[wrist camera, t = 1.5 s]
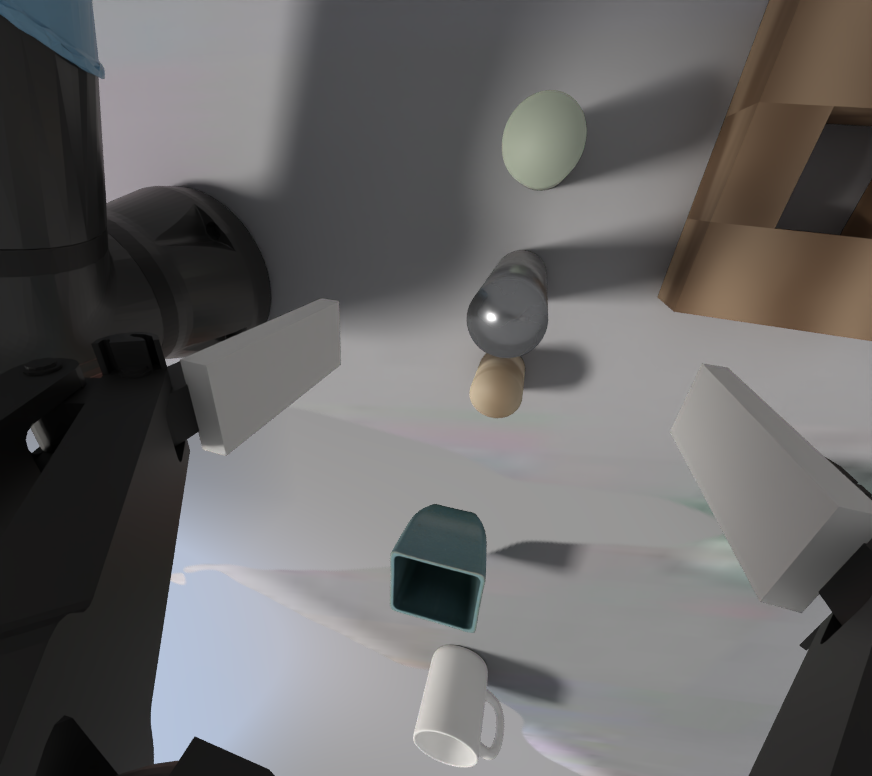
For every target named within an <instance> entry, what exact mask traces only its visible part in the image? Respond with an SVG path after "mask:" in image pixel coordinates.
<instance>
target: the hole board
mask: <svg viewBox="0 0 872 776" xmlns="http://www.w3.org/2000/svg"><path fill="white" fill-rule="evenodd" d="M825 124H842V125H859V126H872V0H769V3H768V5H767V8H766V11H765V13H764V16H763V19H762V21H761V24H760V27H759V29H758V32H757V35H756V37H755V40H754V43H753V45H752V48H751V50H750V53H749V56H748V58H747V61H746V64H745V66H744V69H743V72H742V74H741V77H740V80H739V82H738V85H737V88H736V90H735V93H734V96H733V98H732V101H731V103H730V106H729V109H728V111H727V114H726V117H725V119H724V122H723V125H722V127H721V130H720V133H719V135H718V138H717V141H716V143H715V146H714V149H713V151H712V154H711V157H710V159H709V162H708V164H707V167H706V170H705V172H704V175H703V178H702V180H701V183H700V186H699V188H698V191H697V194H696V196H695V199H694V202H693V204H692V207H691V210H690V212H689V215H688V217H687V220H686V223H685V225H684V228H683V231H682V233H681V236H680V239H679V241H678V244H677V247H676V249H675V252H674V255H673V257H672V260H671V263H670V265H669V268H668V270H667V273H666V276H665V278H664V281H663V284H662V286H661V289H660V292H659V294H658V298H659V299H660V300H661V301H662V302H664V303H665V304H666V305H667V306H668V307H669V308H670V309H672V310H673V311H674V312H681V313H687V314H694V315H701V316H707V317H714V318H721V319H727V320H734V321H741V322H748V323H754V324H761V325H768V326H774V327H781V328H788V329H794V330H801V331H808V332H814V333H821V334H828V335H835V336H841V337H848V338H855V339H861V340H868V341H872V180H871V181H870V183H869V185H868V187H867V188H866V190H865V192H864V194H863V195H862V197H861V199H860V201H859V203H858V204H857V206H856V208H855V210H854V211H853V213H852V215H851V217H850V218H849V220H848V222H847V224H846V225H845V227H844V229H843V231H842V233H841V234H840V235H835V234H826V233H816V232H807V231H798V230H788V229H779V228H775V227H776V225H777V223H778V221H779V219H780V217H781V215H782V213H783V210H784V208H785V206H786V204H787V202H788V200H789V198H790V196H791V194H792V192H793V190H794V188H795V186H796V184H797V182H798V180H799V177H800V175H801V173H802V171H803V169H804V167H805V165H806V163H807V161H808V159H809V157H810V155H811V153H812V151H813V149H814V147H815V145H816V142H817V140H818V138H819V136H820V134H821V132H822V130H823V128H824V126H825Z"/></svg>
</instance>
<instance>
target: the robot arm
mask: <svg viewBox="0 0 872 776" xmlns="http://www.w3.org/2000/svg"><path fill="white" fill-rule="evenodd" d="M98 77H99V78H101V79H105V71H104V68H103V66H102V64H101V63H100V62H99V59H98V50H97V42H96V33H95V24H94V15H93V6H92V0H0V776H275V775H273V773H272V772H271V771H270V770H269V769H267V768H264V767H262V766H260V765H258V764H256V763H253V762H251V761H249V760H246V759H244V758H242V757H240V756H237V755H235V754H233V753H231V752H228V751H226V750H224V749H222V748H220V747H217V746H215V745H213V744H210V743H208V742H206V741H204V740H202V739H199V738H197V737H194V739H193V740H192V741H191V743H190V745H189V746H188V748H187V749H186V751H185V752H184V754H183V755H182V757H181V758H180V760H179V761H172V762H165V763H158V764H154V747H153V738H152V730H151V703H152V696H153V690H154V683H155V677H156V670H157V664H158V657H159V651H160V644H161V638H162V631H163V624H164V617H165V611H166V605H167V598H168V592H169V585H170V578H171V572H172V565H173V559H174V552H175V545H176V539H177V532H178V526H179V519H180V513H181V506H182V499H183V493H184V486H185V480H186V473H187V467H188V460H189V454H190V449H189V445H188V441H187V439H188V438H190V437H191V436H193V435H194V434H195V433H197V432H199V436H200V440H201V444H202V448H203V450H206V451H210V452H214V453H217V454H221V455H225V456H227V455H228V454H229V453H230V452H232V451H233V450H234V449H235V448H237V447H238V446H239V445H240V444H242V443H243V442H244V441H245V440H247V439H248V438H249V437H250V436H252V435H253V434H254V433H256V432H257V431H258V430H259V429H261V428H262V427H263V426H264V425H266V424H267V423H268V422H269V421H271V420H272V419H273V418H274V417H276V416H277V415H278V414H279V413H280V412H282V411H283V410H284V409H286V408H287V407H288V406H289V405H291V404H292V403H293V402H294V401H296V400H297V399H298V398H299V397H301V396H302V395H303V394H304V393H306V392H307V391H308V390H309V389H311V388H312V387H313V386H315V385H316V384H317V383H318V382H320V381H321V380H322V379H323V378H325V377H326V376H327V375H328V374H330V373H331V372H332V371H333V370H335V369H336V368H337V367H338V366H340V365H341V349H340V318H339V301H335V300H329V299H323V298H321V299H318V300H316V301H314V302H311V303H309V304H307V305H305V306H302V307H300V308H298V309H295V310H293V311H291V312H288V313H286V314H284V315H282V316H279V317H277V318H275V319H272V320H270V321H268V322H266V321H267V318H268V315H269V310H270V301H271V293H270V283H269V278H268V273H267V270H266V266H265V264H264V261H263V258H262V256H261V253H260V251H259V249H258V247H257V245H256V243H255V242H254V240H253V238H252V237H251V235H250V234H249V232H248V231H247V229H246V228H245V227H244V225H243V224H242V223H241V222H240V221H239V219H238V218H237V217H236V216H235V215H234V214H233V213H232V212H231V211H230V210H229V209H227V208H226V207H225V206H224V205H223V204H221V203H220V202H219V201H217V200H216V199H214V198H212V197H211V196H209V195H207V194H205V193H203V192H201V191H198V190H195V189H191V188H187V187H175V186H153V187H146V188H142V189H139V190H137V191H134V192H132V193H130V194H127V195H125V196H122V197H120V198H118V199H115V200H113V201H110V202H108V203H106V192H105V176H104V160H103V144H102V128H101V112H100V96H99V78H98ZM184 357H185V358H184ZM171 358H182V359H180V361H179V362H177V363H175V364H173V365H170V366H168V367H167V365H166V362H165V359H171ZM30 428H31V430H32V432H33V434H34V436H35V438H36V440H37V442H38V443H39V446H40V447H39V448H38V449H36V450H35V451H34V452H33V453H31V452H30V451H29V450H28V447H27V443H26V436H27V432H28V430H29V429H30ZM670 433H671V435H672V437H673V439H674V441H675V443H676V445H677V447H678V448H679V450H680V452H681V454H682V456H683V458H684V460H685V462H686V463H687V465H688V467H689V469H690V471H691V473H692V475H693V477H694V479H695V480H696V482H697V484H698V486H699V488H700V490H701V492H702V494H703V495H704V497H705V499H706V501H707V503H708V505H709V507H710V509H711V510H712V512H713V514H714V516H715V518H716V520H717V522H718V524H719V525H720V527H721V529H722V531H723V533H724V535H725V537H726V539H727V540H728V542H729V544H730V546H731V548H732V550H733V552H734V554H735V556H736V557H737V559H738V561H739V563H740V565H741V567H742V569H743V571H744V572H745V574H746V576H747V578H748V580H749V582H750V584H751V586H752V587H753V589H754V591H755V593H756V595H757V597H758V599H759V601H760V602H763V603H767V604H771V605H774V606H778V607H782V608H785V609H789V610H793V611H796V612H800V613H802V612H803V611H804V610H805V609H806V608H807V607H808V606H809V605H810V604H811V602H812V601H813V600H814V599H815V598H816V597H817V596H818V595H819V594H820V595H821V597H822V598H823V599H824V601H825V602H826V604H827V605H828V607H829V608H830V609H831V611H832V613H831V614H830V615H829V616H828V617H827V618H826V619H825V620H824V621H823V622H822V623H821V624H820V625H819V626H818V627H817V628H816V629H815V630H814V631H813V632H812V633H811V634H810V635H809V636H808V637H807V638H806V639H805V640H804V641H803V642H802V643H801V644H800V646H801V647H802V648H804V649H805V650H808V649H809V650H808V652H807V654H806V656H805V658H804V660H803V662H802V664H801V667H800V669H799V671H798V673H797V675H796V677H795V679H794V681H793V683H792V686H791V688H790V690H789V692H788V694H787V696H786V698H785V700H784V702H783V704H782V707H781V709H780V711H779V713H778V715H777V717H776V719H775V721H774V723H773V726H772V728H771V730H770V732H769V734H768V736H767V738H766V740H765V742H764V744H763V747H762V749H761V751H760V753H759V755H758V757H757V759H756V761H755V763H754V765H753V768H752V770H751V772H750V774H749V776H872V497H871V496H872V494H871V493H870V492H868V491H867V490H866V489H865V488H864V487H863V486H862V485H859V484H857V483H858V482H857V481H856V480H855V479H854V478H853V477H852V476H851V475H850V474H848V473H847V472H846V471H845V470H844V469H843V468H842V467H841V466H839V465H837V464H836V463H834V462H832V461H831V460H829V459H828V458H826V457H824V456H823V455H822V454H821V453H820V452H819V451H818V450H816V449H815V448H814V447H813V446H812V445H811V444H810V443H809V442H808V441H807V440H806V439H805V438H803V437H802V436H801V435H800V434H799V433H798V432H797V431H796V430H795V429H794V428H793V427H792V426H790V425H789V424H788V423H787V422H786V421H785V420H784V419H783V418H782V417H781V416H780V415H779V414H777V413H776V412H775V411H774V410H773V409H772V408H771V407H770V406H769V405H768V404H767V403H766V402H764V401H763V400H762V399H761V398H760V397H759V396H758V395H757V394H756V393H755V392H754V391H752V390H751V389H750V388H749V387H748V386H747V385H746V384H745V383H744V382H743V381H742V380H741V379H739V378H738V377H737V376H736V375H735V374H734V373H733V372H732V371H731V370H730V369H729V368H726V367H720V366H714V365H709V364H703V363H702V365H701V367H700V369H699V371H698V373H697V375H696V378H695V380H694V382H693V384H692V386H691V388H690V390H689V392H688V394H687V397H686V399H685V401H684V403H683V405H682V407H681V409H680V411H679V414H678V416H677V418H676V420H675V422H674V424H673V426H672V428H671V430H670Z"/></svg>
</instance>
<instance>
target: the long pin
mask: <svg viewBox="0 0 872 776" xmlns="http://www.w3.org/2000/svg"><path fill="white" fill-rule="evenodd" d="M547 324H548V302H547V272H546V267H545V265H544V263H543V261H542V260H541V258H540V257H538V256H537V255H536V254H534V253H532V252H530V251H526V250H518V251H514V252H511V253H509V254H507V255H506V256H504V257H503V258H502V259H501V260H500V262H499V263H498V265H497V266H496V267H495V269H494V270H493V271H492V273H491V274H490V276H489V277H488V278H487V280H486V281H485V283H484V284H483V285H482V287H481V288H480V290H479V291H478V292H477V294H476V295H475V297H474V298H473V299H472V301H471V303H470V305H469V308H468V312H467V327H468V331H469V334H470V336H471V338H472V339H473V341H474V342H475V344H476V345H477V346H478V347H479V348H480V349H482V350H483V351H484V352H486V353H488V354H490V355H492V356H495V357H499V358H515V357H519V356H522V355H524V354H526V353H528V352H530V351H531V350H533V349H534V348H535V347H536V346H537V345H538V344H539V343H540V341H541V340H542V338H543V336H544V334H545V332H546V329H547Z"/></svg>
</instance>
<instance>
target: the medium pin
mask: <svg viewBox="0 0 872 776" xmlns="http://www.w3.org/2000/svg"><path fill="white" fill-rule="evenodd" d="M586 135H587V128H586V120H585V117H584V114H583V111H582V109H581V107H580V106H579V104H578V103H577V102H576V101H575V100H574V99H573V98H572V97H571V96H569V95H567V94H565V93H563V92H560V91H555V90H546V91H541V92H538V93H535V94H533V95H531V96H529V97H528V98H526V99H525V100H524V101H523V102H521V103H520V104H519V105H518V106H517V108H516V109H515V110H514V111H513V113H512V114H511V116H510V118H509V119H508V122H507V124H506V126H505V129H504V133H503V138H502V154H503V159H504V163H505V165H506V168H507V169H508V171H509V173H510V174H511V175H512V176H513V177H514V178H515V179H516V180H517V181H518V182H520V183H521V184H523V185H524V186H526V187H527V188H529V189H532V190H537V191H542V190H547V189H550V188H553V187H554V186H556V185H558V184H559V183H560V182H561V181H562V180H563V179H564V178H565V177H566V176H567V175H568V174H569V173H570V172H571V171H572V170H573V168H574V167H575V166H576V164H577V163H578V161H579V159H580V157H581V155H582V153H583V150H584V147H585V142H586Z"/></svg>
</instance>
